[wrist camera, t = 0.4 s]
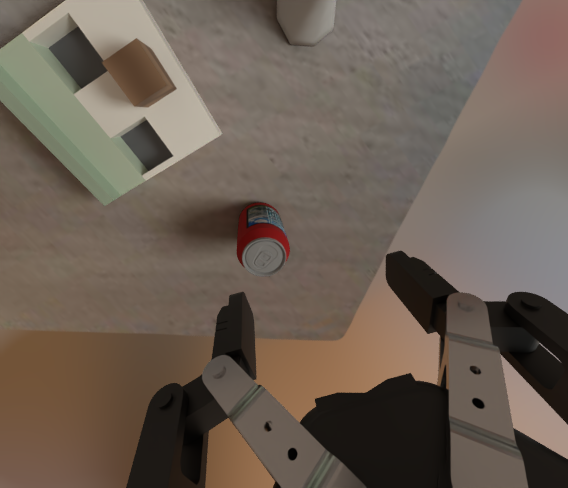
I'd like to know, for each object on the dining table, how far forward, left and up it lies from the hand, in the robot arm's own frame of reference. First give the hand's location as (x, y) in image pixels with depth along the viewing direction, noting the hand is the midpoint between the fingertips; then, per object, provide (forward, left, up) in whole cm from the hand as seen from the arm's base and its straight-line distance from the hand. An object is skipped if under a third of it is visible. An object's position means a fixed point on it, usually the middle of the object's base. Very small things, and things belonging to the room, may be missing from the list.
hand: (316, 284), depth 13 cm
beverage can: (+7, -3, -27) cm, 28 cm away
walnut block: (-13, -12, -23) cm, 29 cm away
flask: (-18, +7, -27) cm, 33 cm away
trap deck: (-12, -16, -26) cm, 33 cm away
